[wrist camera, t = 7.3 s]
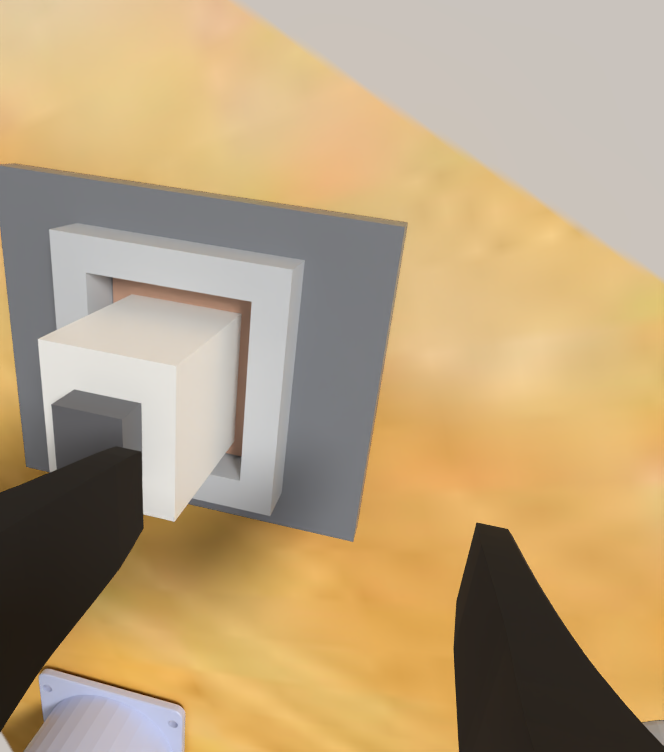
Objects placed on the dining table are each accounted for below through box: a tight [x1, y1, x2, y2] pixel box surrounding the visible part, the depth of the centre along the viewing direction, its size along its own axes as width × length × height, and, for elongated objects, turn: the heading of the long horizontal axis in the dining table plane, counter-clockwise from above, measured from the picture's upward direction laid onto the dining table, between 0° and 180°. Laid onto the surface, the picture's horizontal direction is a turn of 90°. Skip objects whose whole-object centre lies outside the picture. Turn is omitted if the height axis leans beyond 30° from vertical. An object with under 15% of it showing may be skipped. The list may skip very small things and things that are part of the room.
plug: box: [38, 294, 242, 522], centre depth 18 cm, size 5×4×6 cm
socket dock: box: [0, 164, 408, 542], centre depth 21 cm, size 12×14×2 cm
